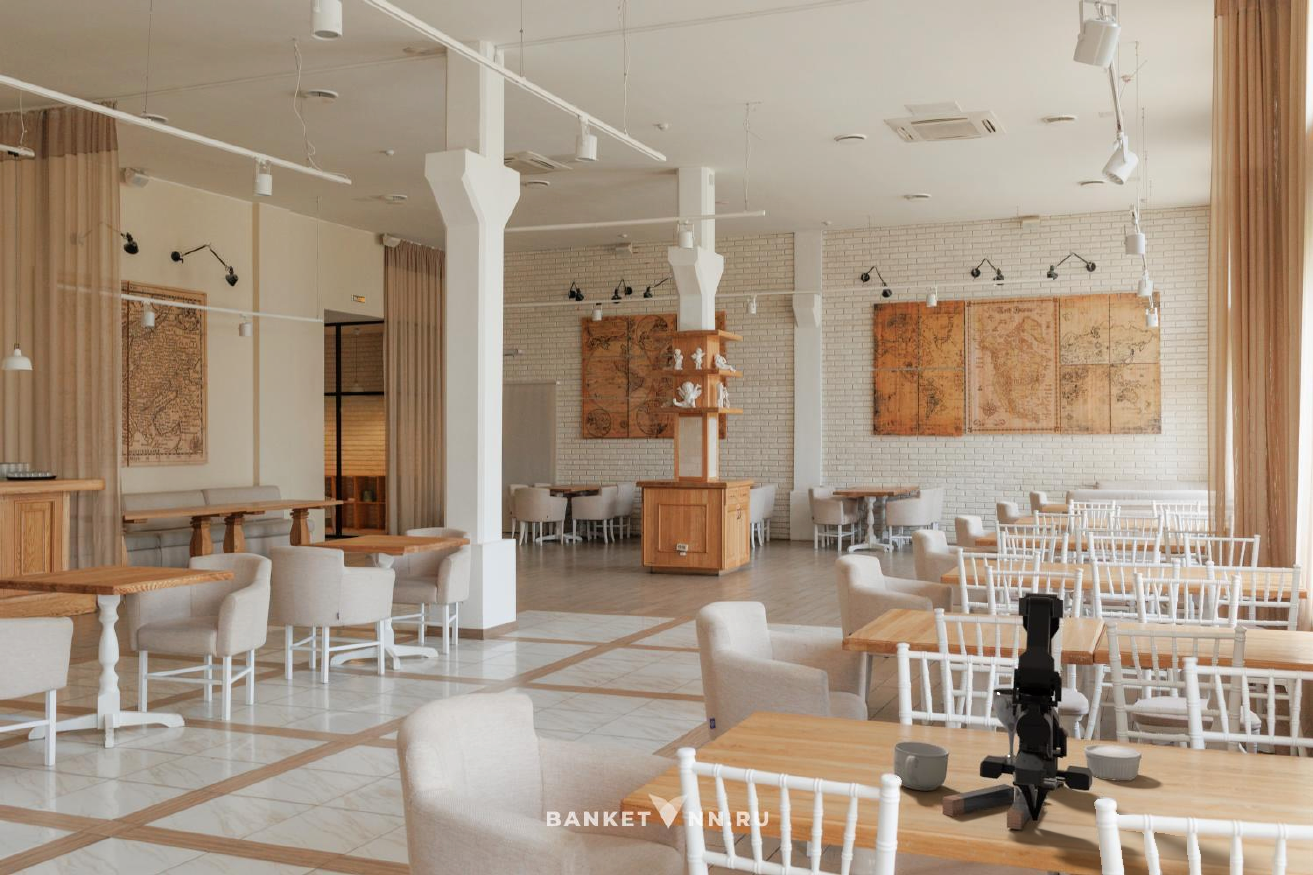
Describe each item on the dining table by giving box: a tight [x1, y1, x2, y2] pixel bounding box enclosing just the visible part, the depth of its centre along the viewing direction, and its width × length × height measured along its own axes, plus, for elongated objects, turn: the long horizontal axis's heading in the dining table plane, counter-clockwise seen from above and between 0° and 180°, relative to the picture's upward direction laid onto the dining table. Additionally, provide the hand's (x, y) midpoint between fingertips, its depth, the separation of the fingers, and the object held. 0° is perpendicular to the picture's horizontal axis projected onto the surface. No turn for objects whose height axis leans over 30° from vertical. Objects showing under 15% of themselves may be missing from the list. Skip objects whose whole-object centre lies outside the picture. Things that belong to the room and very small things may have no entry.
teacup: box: [893, 741, 950, 792], centre depth 230 cm, size 14×11×8 cm
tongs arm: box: [1006, 790, 1037, 831], centre depth 212 cm, size 17×2×3 cm, turn 153°
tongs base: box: [942, 783, 1048, 818], centre depth 218 cm, size 23×5×4 cm, turn 123°
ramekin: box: [1083, 744, 1142, 781], centre depth 242 cm, size 11×11×5 cm
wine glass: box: [992, 687, 1021, 764], centre depth 253 cm, size 8×8×15 cm
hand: (1035, 820), depth 207 cm, fingers closed
